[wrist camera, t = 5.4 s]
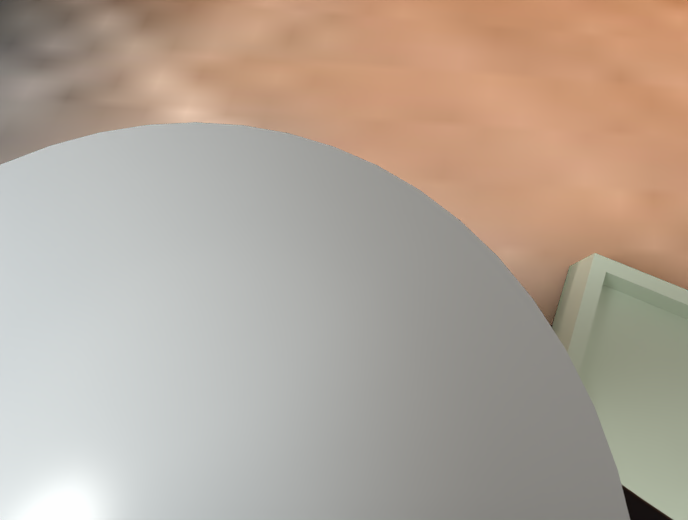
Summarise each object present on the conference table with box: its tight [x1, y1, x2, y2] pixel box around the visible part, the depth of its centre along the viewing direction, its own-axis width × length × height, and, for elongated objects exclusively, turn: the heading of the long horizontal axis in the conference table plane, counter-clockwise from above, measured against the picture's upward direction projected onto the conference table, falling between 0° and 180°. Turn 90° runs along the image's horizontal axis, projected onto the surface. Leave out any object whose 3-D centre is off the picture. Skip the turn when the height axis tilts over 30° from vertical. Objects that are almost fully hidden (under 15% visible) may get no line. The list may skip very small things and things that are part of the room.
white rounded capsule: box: [0, 122, 630, 520], centre depth 9 cm, size 6×6×13 cm
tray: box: [552, 253, 688, 520], centre depth 19 cm, size 20×12×2 cm, turn 156°
